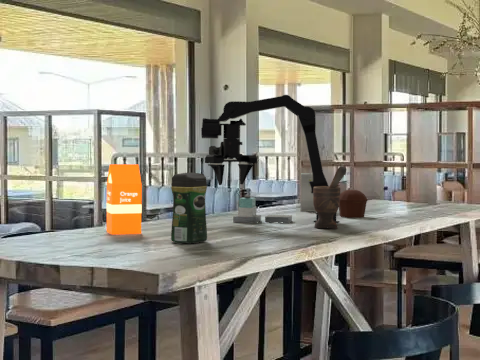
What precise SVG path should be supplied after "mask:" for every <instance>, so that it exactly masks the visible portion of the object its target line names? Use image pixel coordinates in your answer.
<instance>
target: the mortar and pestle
mask: <svg viewBox="0 0 480 360" xmlns="http://www.w3.org/2000/svg"><path fill="white" fill-rule="evenodd" d="M346 173H347V168H346V167H345V166H343V165H340V166H339V167H338V168H337V170H336V172H335V173H334V176H333V178H332V180H331V183H330V185H328V186H329V187H328V186H316V187H313V204H314V208H315V211H316V212H317V214H318V215H319V219H318V221H316V220H315V221H316V222H314V225H313V227H314V229H326V230H327V229H333V230H336V229H338V224H337V223H336V222H335V221H334V220H333V215H334V214H335V213H336V214H337V212H339V204H340V194H341V187H339V186H338V185H339V183H340V182H341V180H342V179H343V178H344V176H345V174H346ZM316 212H315V213H316Z"/></svg>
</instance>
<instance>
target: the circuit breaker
mask: <svg viewBox="0 0 480 360" xmlns="http://www.w3.org/2000/svg"><path fill="white" fill-rule="evenodd" d="M308 181H312V172H311V173H309V172H301V173H300V203H299V204H300V206H299V208H300V212H305V211H315V208H314V204H313V193H311V192H310V190H311V189H310V185H309V182H308Z"/></svg>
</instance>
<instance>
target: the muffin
mask: <svg viewBox="0 0 480 360" xmlns="http://www.w3.org/2000/svg"><path fill="white" fill-rule="evenodd" d="M368 200H369V199H368V198H367V196H366V195H365V194H364V192H362V191H361V190H358V189H345V190H343V191H342V192H340V204H339V207H338V212H339V213H338V214H339V217H340V216H341V218H346V217H347V219H348V218H350V219H361V218H365V214H366V208H367V203H368Z"/></svg>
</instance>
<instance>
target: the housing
mask: <svg viewBox="0 0 480 360" xmlns="http://www.w3.org/2000/svg"><path fill="white" fill-rule="evenodd" d="M256 199H257V198H256V197H251V195H244V197H240V198H239V199H238V200H239V202H238V203H239V205H238V208H237V215H238V216H239V217H254V216H256V215H257V206H256V201H257V200H256Z"/></svg>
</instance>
